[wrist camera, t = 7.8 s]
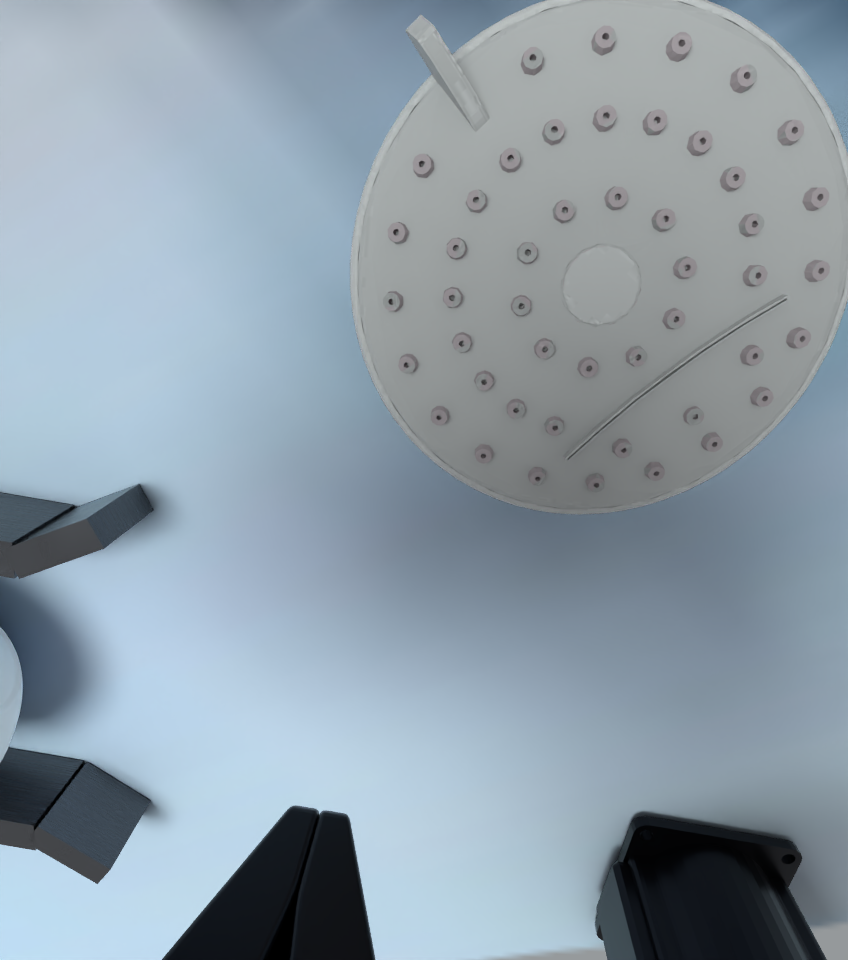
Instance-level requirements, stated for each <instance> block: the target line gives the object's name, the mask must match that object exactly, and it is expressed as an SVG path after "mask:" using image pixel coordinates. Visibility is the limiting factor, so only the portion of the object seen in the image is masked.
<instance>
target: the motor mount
mask: <svg viewBox="0 0 848 960" xmlns="http://www.w3.org/2000/svg"><path fill="white" fill-rule="evenodd" d="M152 511H153V508H152V507H151V505H150V503H149V501H148V499H147V498H146V496H145V494H144V492H143V490H142V489H141V487H140V485H139V484H137V485H135V486H132V487H129V488H127V489H124V490H121V491H119V492H116V493H113V494H111V495H108V496H105V497H103V498H100V499H97V500H95V501H92V502H89V503H87V504H84V505H81V506H79V507H76V508H74V505H70V504H64V503H58V502H52V501H46V500H40V499H35V498H29V497H23V496H17V495H11V494H5V493H0V576H4V577H9V578H16V577H17V576H18V577H19V579H20V578H23V577H26V576H28V575H31V574H34V573H37V572H40V571H42V570H45V569H48V568H51V567H54V566H56V565H59V564H62V563H65V562H68V561H70V560H73V559H76V558H79V557H82V556H84V555H87V554H90V553H93V552H96V551H98V550H101V549H104V548H105V547H107V546H108V545H109V544H110V543H112V542H113V541H114V540H116V539H117V538H118V537H119V536H121V535H122V534H123V533H125V532H126V531H127V530H129V529H130V528H131V527H132V526H134V525H135V524H136V523H138V522H139V521H140V520H141V519H143V518H144V517H145V516H147V515H148V514H149V513H150V512H152ZM149 803H150V800H148V799H147V798H145V797H144V796H142V795H140V794H139V793H137V792H135V791H134V790H132V789H131V788H129V787H127V786H126V785H124V784H122V783H121V782H119V781H118V780H116V779H114V778H113V777H111V776H109V775H108V774H106V773H105V772H103V771H101V770H100V769H98V768H96V767H95V766H93V765H92V764H90V763H88V762H87V763H86V764H85V765H84V763H83V761H81V760H76V759H70V758H64V757H58V756H52V755H46V754H40V753H34V752H29V751H23V750H17V749H11V748H8V749H7V751H6V753H5V755H4V757H3V759H2V761H1V763H0V844H2V845H8V846H14V847H19V848H25V849H31V850H36V849H38V850H40V851H41V852H43V853H45V854H47V855H48V856H50V857H52V858H54V859H55V860H57V861H59V862H60V863H62V864H64V865H66V866H67V867H69V868H71V869H73V870H74V871H76V872H78V873H79V874H81V875H83V876H85V877H86V878H88V879H90V880H92V881H93V882H95V883H97V884H98V883H99V882H100V880H101V879H102V878H103V877H104V876H105V875H106V874H107V873H108V872H109V870H110V869H111V868H112V866H113V864H114V862H115V861H116V859H117V857H118V856H119V854H120V852H121V851H122V849H123V847H124V845H125V844H126V842H127V840H128V839H129V837H130V835H131V833H132V832H133V830H134V828H135V827H136V825H137V823H138V821H139V820H140V818H141V816H142V815H143V813H144V811H145V810H146V808H147V806H148V804H149Z"/></svg>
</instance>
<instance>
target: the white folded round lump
mask: <svg viewBox="0 0 848 960" xmlns="http://www.w3.org/2000/svg"><path fill="white" fill-rule="evenodd" d="M22 693H23V680H22V671H21V666H20V662H19V658H18V655H17V653H16V650H15V648H14V646H13V644H12V642H11V641H10V639H9V637H8V636H7V635H6V633H5V632H4V631H3V629H2V628H1V627H0V763H1V761H2V759H3V757H4V755H5V753H6V751H7V749H8V747H9V745H10V742H11V740H12V737H13V735H14V732H15V729H16V726H17V722H18V718H19V714H20V709H21V703H22Z"/></svg>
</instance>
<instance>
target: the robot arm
mask: <svg viewBox="0 0 848 960" xmlns="http://www.w3.org/2000/svg"><path fill="white" fill-rule="evenodd" d="M644 830H646V831H644ZM801 861H802V856H801V853H800V852H799V850H798V848H797V846H796V845H795V844H794V843H793V842H791V841H788V840H783V839H777V838H771V837H766V836H760V835H754V834H748V833H742V832H736V831H730V830H724V829H719V828H713V827H707V826H701V825H695V824H689V823H683V822H678V821H672V820H666V819H660V818H654V817H648V816H641V817H637V818H636V819H634V820H633V821H632V823H631V824H630V827H629V830H628V833H627V835H626V838H625V841H624V844H623V846H622V849H621V852H620V854H619V857H618V860H617V861H616V862H615V863H614V864H613V865H612V866H611V869H610V872H609V874H608V877H607V880H606V883H605V886H604V888H603V891H602V894H601V897H600V899H599V902H598V905H597V913H598V915H597V918H596V920H595V928H596V932H597V936H598V938H600V939H601V940H603V941H604V946H605V950H606V955H607V959H608V960H827V959H826V957H825V955H824V954H823V952H822V950H821V948H820V946H819V944H818V942H817V941H816V939H815V937H814V935H813V933H812V931H811V929H810V927H809V925H808V924H807V922H806V920H805V918H804V916H803V914H802V912H801V910H800V909H799V907H798V905H797V903H796V901H795V899H794V897H793V895H792V894H791V892H790V890H789V888H788V887H789V885H790V883H791V881H792V879H793V877H794V875H795V873H796V871H797V869H798V867H799V865H800V863H801ZM162 960H375V955H374V949H373V944H372V938H371V933H370V927H369V922H368V916H367V911H366V906H365V900H364V895H363V889H362V884H361V878H360V873H359V867H358V862H357V856H356V851H355V845H354V840H353V834H352V829H351V823H350V819H349V817H348V815H346V814H344V813H338V812H332V811H322V812H321V813H320V815H319V812H318V810H316V809H314V808H308V807H302V806H292V807H290V808H289V809H288V810H287V811H286V812H285V813H284V814H283V816H282V817H281V818H280V819H279V820H278V822H277V823H276V824H275V825H274V826H273V828H272V829H271V830H270V831H269V832H268V834H267V835H266V836H265V837H264V838H263V840H262V841H261V842H260V843H259V844H258V845H257V847H256V848H255V849H254V850H253V851H252V853H251V854H250V855H249V856H248V857H247V859H246V860H245V861H244V862H243V863H242V865H241V866H240V867H239V868H238V869H237V871H236V872H235V873H234V874H233V875H232V877H231V878H230V879H229V880H228V881H227V882H226V884H225V885H224V886H223V887H222V888H221V890H220V891H219V892H218V893H217V894H216V896H215V897H214V898H213V899H212V900H211V902H210V903H209V904H208V905H207V906H206V908H205V909H204V910H203V911H202V912H201V914H200V915H199V916H198V917H197V918H196V919H195V921H194V922H193V923H192V924H191V925H190V927H189V928H188V929H187V930H186V931H185V933H184V934H183V935H182V936H181V937H180V939H179V940H178V941H177V942H176V943H175V945H174V946H173V947H172V948H171V949H170V951H169V952H168V953H167V954H166V955H165V957H164V958H163V959H162Z"/></svg>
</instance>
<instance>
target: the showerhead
mask: <svg viewBox="0 0 848 960" xmlns="http://www.w3.org/2000/svg"><path fill="white" fill-rule="evenodd" d="M406 33H407V34H408V36H409V38H410V39H411V41H412V43H413V44H414V46H415V48H416V49H417V51H418V52H419V54H420V56H421V57H422V59H423V60H424V62H425V64H426V65H427V67H428V69H429V70H430V72H431V73H432V74H431V76H430V77H429V78H428V79H427V80H426V81H425V82H424V83H423V84H422V85H421V87H420V88H419V89H418V90H417V91H416V93H415V94H414V95H413V97H412V98H411V99H410V101H409V102H408V103H407V105H406V106H405V107H404V109H403V110H402V111H401V113H400V114H399V116H398V118H397V119H396V121H395V123H394V124H393V126H392V127H391V129H390V131H389V132H388V134H387V136H386V138H385V140H384V142H383V144H382V146H381V148H380V150H379V152H378V154H377V156H376V158H375V160H374V162H373V165H372V168H371V170H370V173H369V176H368V178H367V181H366V183H365V186H364V189H363V193H362V197H361V200H360V204H359V207H358V211H357V216H356V221H355V227H354V232H353V238H352V249H351V260H350V291H351V301H352V311H353V318H354V323H355V328H356V333H357V338H358V341H359V345H360V348H361V352H362V355H363V358H364V361H365V364H366V366H367V369H368V371H369V374H370V376H371V379H372V381H373V383H374V385H375V387H376V389H377V391H378V393H379V395H380V397H381V399H382V401H383V402H384V404H385V405H386V407H387V409H388V410H389V412H390V413H391V415H392V416H393V418H394V420H395V421H396V422H397V423H398V425H399V426H400V427H401V429H402V430H403V431H404V432H405V434H406V435H407V436H408V437H409V438H410V439H411V441H412V442H413V443H414V444H415V445H416V446H417V447H418V448H419V449H420V450H421V451H422V452H423V453H424V454H425V455H426V456H428V457H429V458H430V459H431V460H432V461H433V462H434V463H436V464H437V465H438V466H439V467H440V468H442V469H443V470H445V471H446V472H448V473H449V474H450V475H452V476H453V477H455V478H456V479H458V480H459V481H461V482H463V483H465V484H466V485H468V486H470V487H471V488H473V489H475V490H477V491H479V492H482V493H484V494H486V495H488V496H490V497H493V498H495V499H498V500H501V501H504V502H507V503H509V504H512V505H516V506H520V507H524V508H528V509H532V510H537V511H544V512H551V513H560V514H601V513H609V512H617V511H624V510H628V509H633V508H638V507H642V506H646V505H649V504H652V503H656V502H659V501H662V500H665V499H668V498H670V497H673V496H675V495H678V494H680V493H683V492H685V491H687V490H689V489H691V488H693V487H695V486H697V485H699V484H701V483H703V482H705V481H707V480H709V479H710V478H712V477H714V476H715V475H717V474H719V473H720V472H722V471H723V470H725V469H727V468H728V467H729V466H731V465H732V464H733V463H735V462H736V461H737V460H739V459H740V458H742V457H743V456H744V455H746V454H747V453H748V452H749V451H751V450H752V449H753V448H754V447H755V446H756V445H758V444H759V443H760V442H761V441H762V440H763V439H764V438H765V437H766V436H767V435H768V434H769V433H770V432H771V431H772V430H773V429H774V428H775V427H776V426H777V425H778V424H779V423H780V422H781V421H782V420H783V418H784V417H785V416H786V415H787V413H788V412H789V411H790V410H791V409H792V407H793V406H794V405H795V404H796V402H797V401H798V400H799V399H800V397H801V396H802V394H803V393H804V392H805V390H806V389H807V387H808V386H809V384H810V383H811V381H812V380H813V378H814V376H815V374H816V372H817V371H818V369H819V367H820V365H821V364H822V362H823V360H824V358H825V357H826V355H827V353H828V351H829V349H830V347H831V344H832V342H833V340H834V337H835V335H836V332H837V330H838V327H839V324H840V321H841V318H842V315H843V313H844V310H845V307H846V303H847V300H848V154H847V150H846V147H845V145H844V142H843V139H842V136H841V134H840V131H839V128H838V125H837V123H836V121H835V119H834V117H833V114H832V112H831V110H830V109H829V107H828V105H827V103H826V101H825V99H824V98H823V96H822V95H821V93H820V92H819V90H818V89H817V87H816V85H815V84H814V82H813V81H812V79H811V78H810V76H809V75H808V74H807V73H806V72H805V70H804V69H803V68H802V67H801V65H800V64H799V63H798V62H797V61H796V60H795V59H794V57H793V56H792V55H791V54H790V53H789V52H787V51H786V50H785V49H784V48H783V47H782V46H781V45H780V44H779V43H778V42H777V41H776V40H775V39H774V38H772V37H771V36H770V35H768V34H767V33H766V32H764V31H763V30H761V29H760V28H759V27H757V26H756V25H755V24H753V23H752V22H750V21H749V20H747V19H745V18H743V17H741V16H740V15H738V14H736V13H734V12H732V11H731V10H729V9H727V8H725V7H722V6H720V5H717V4H715V3H712V2H710V1H707V0H546V1H543V2H540V3H537V4H534V5H531V6H529V7H527V8H525V9H523V10H520V11H518V12H516V13H514V14H512V15H510V16H507V17H506V18H504V19H502V20H501V21H499V22H497V23H496V24H494V25H492V26H490V27H489V28H487V29H485V30H484V31H482V32H481V33H479V34H478V35H477V36H475V37H474V38H473V39H471V40H470V41H468V42H467V43H466V44H464V45H463V46H462V47H460V48H459V49H458V50H457V51H456V52H455V53H453V54H451V52H450V51H449V49H448V47H447V46H446V44H445V42H444V41H443V39H442V38H441V36H440V34H439V33H438V31H437V30H436V28H435V27H434V26H433V24H432V23H430V22H429V21H428V20H427V19H425V18H424V17H423V16H422V15H420V16H419V17H418V18H417V19H416V20H415V21H414V22H413V23H412V24H411V25H410V26H409V27H408V28H407V29H406Z"/></svg>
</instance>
